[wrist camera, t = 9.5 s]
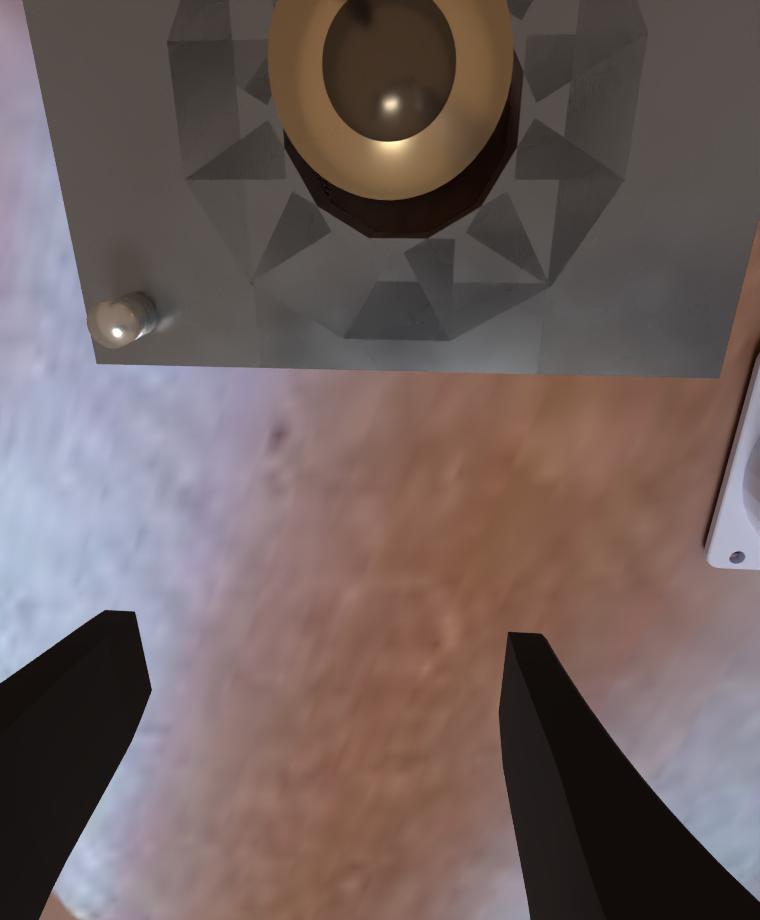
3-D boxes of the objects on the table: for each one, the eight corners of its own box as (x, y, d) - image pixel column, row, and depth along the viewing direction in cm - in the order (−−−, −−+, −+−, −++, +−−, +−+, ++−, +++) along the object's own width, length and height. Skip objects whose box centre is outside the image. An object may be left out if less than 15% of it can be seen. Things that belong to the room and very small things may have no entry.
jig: (812, -216, 13) (955, -368, 10) (685, 356, 19) (746, 397, 15) (41, -181, 15) (-89, -302, 11) (133, 344, 20) (67, 379, 16)
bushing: (497, 21, 16) (537, -81, 10) (470, 203, 17) (489, 212, 11) (331, 4, 16) (269, -107, 10) (321, 187, 18) (264, 187, 12)
